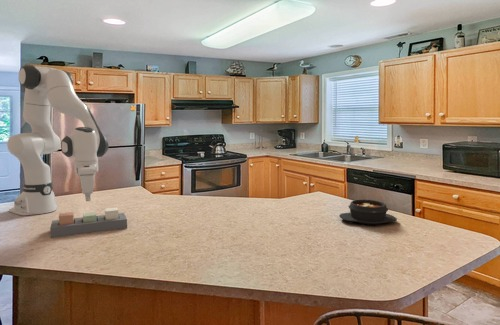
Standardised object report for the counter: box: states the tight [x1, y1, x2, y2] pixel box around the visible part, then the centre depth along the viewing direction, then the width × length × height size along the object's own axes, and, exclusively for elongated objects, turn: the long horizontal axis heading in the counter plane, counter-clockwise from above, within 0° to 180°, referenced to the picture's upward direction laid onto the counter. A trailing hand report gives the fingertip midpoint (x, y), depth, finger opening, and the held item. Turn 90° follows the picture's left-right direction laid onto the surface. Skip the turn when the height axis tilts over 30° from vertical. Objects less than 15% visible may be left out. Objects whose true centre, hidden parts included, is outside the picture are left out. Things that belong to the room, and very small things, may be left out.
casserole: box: [338, 199, 398, 226], centre depth 157 cm, size 25×19×8 cm
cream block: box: [104, 207, 119, 220], centre depth 148 cm, size 5×5×5 cm
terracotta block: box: [58, 211, 75, 225], centre depth 141 cm, size 5×5×5 cm
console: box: [49, 212, 128, 239], centre depth 145 cm, size 28×11×4 cm, turn 116°
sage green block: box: [82, 211, 97, 223], centre depth 144 cm, size 5×5×5 cm
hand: (88, 200), depth 143 cm, fingers closed
